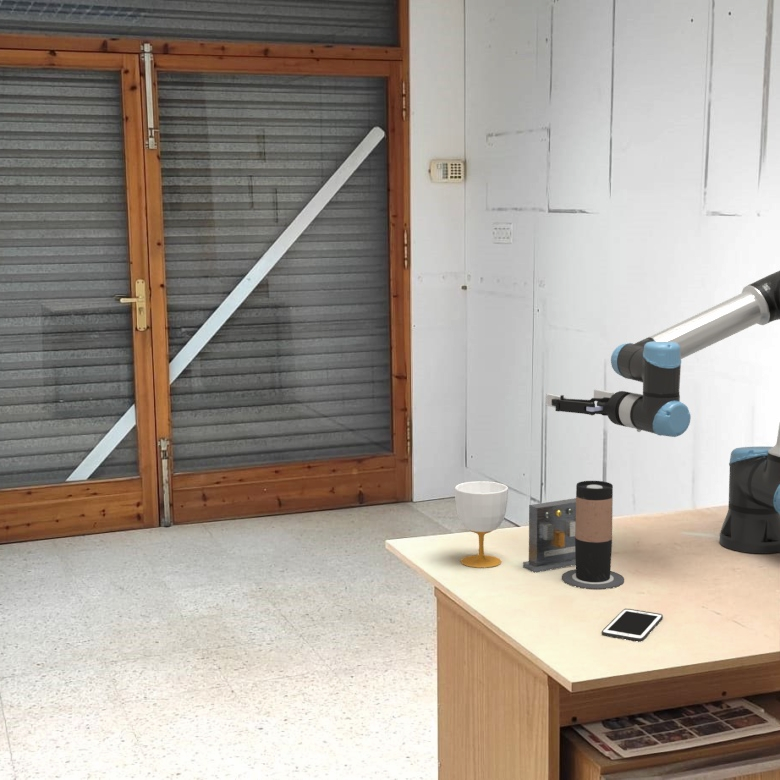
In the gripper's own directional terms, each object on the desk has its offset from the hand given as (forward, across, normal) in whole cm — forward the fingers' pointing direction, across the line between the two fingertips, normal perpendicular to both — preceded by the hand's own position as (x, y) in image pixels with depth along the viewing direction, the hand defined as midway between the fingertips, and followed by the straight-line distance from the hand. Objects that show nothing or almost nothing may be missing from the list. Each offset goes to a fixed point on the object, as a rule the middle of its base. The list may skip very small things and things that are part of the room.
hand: (571, 397), depth 263 cm
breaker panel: (-16, -15, -34) cm, 40 cm away
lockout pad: (-28, -15, -34) cm, 46 cm away
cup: (-6, -28, -34) cm, 45 cm away
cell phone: (-54, -25, -35) cm, 69 cm away
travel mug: (-28, -15, -34) cm, 46 cm away
